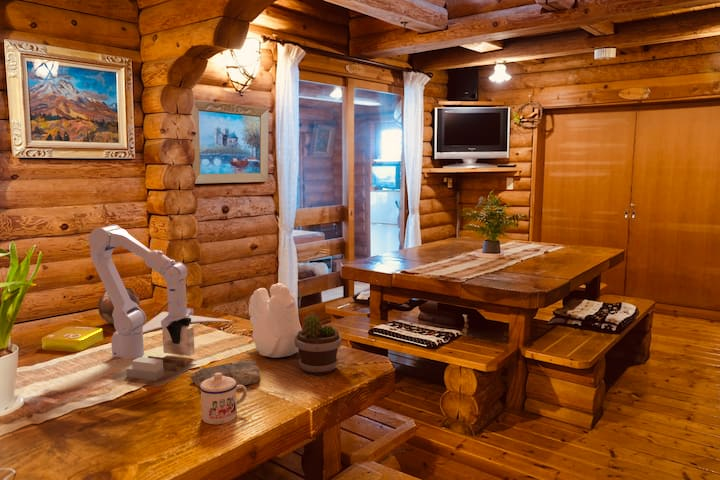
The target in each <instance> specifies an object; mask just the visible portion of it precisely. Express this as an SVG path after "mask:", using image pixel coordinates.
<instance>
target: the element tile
mask: <svg viewBox="0 0 720 480" xmlns="http://www.w3.org/2000/svg"><path fill="white" fill-rule="evenodd" d="M103 340H104V329H103V328H101V327H91V326H90V327H88V326H65V327H63V328H61V329H59V330H56V331H54V332H51V333H50V334H47V335H45V336H43V337H41V348H42V350H45V351H56V352H57V351H58V352H73V353H75V352H76V353H77V352H81V351H83V350H85V349H89V347H92V346H94V345H95V344H98V343H99V342H101V341H103Z"/></svg>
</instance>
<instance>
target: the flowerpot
mask: <svg viewBox="0 0 720 480" xmlns="http://www.w3.org/2000/svg"><path fill="white" fill-rule="evenodd" d="M310 311H311V312H308V313H306V315H305V317H304V318H303V323H302V322H301V323H302V331H299V332H298V335H297V336H296V337H295V341H294V342H295V346H296V347H297V348H298V351H297V352H298V355H299V360H298V362H299V367H300V369H301V370H303V372H305V373H307V374H310V375H313V376H321V375H326V374H327V375H328V374H330V373H332V372H333V371H335V368H336V367H337V365H338V362H339V361H338V356H337V355H338V352H339V351H338V350H339V348H340V347H341V345H342V344H343V338H342V336H341V334H340V333H339V331H338V330H336V329H334V328H335V327H334V325H333V326H332V324H331V325H330V324H326V325H325V324H324V325H323V321H321V317H319V315H317V311H315V312H314V311H313V310H310Z"/></svg>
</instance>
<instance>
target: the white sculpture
mask: <svg viewBox="0 0 720 480" xmlns="http://www.w3.org/2000/svg"><path fill="white" fill-rule="evenodd" d="M269 294H270V296H269ZM248 315H249V316H250V317H249V321H250V323H251V324H250V325H251V326H252V328H253V330H252V338H253V342H254V345H255V348H256V350H257V352H258V354H259V355H261V356H263V357H269V358H284V357H289V356H290V357H291V356H292V355H294V354H295V353H298V352H299V351H298V348H297V347H296V346H295V342H294V341H295V337H296V336H297V335H298V332H299V331H302V330H303V327H302V326H301V324H300V320H299V318H298V312H297V303H296V298H295V296H294V294H292V293H291V290H290V289H289V287H287V285H285V284H284V283H281V282H277V283H275V284H271V286H270V288H269V292H268V290H267V288H265V287H260V288H258V289H255V290H254V291H253V294H251V296H250V298H249V305H248Z"/></svg>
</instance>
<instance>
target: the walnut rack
mask: <svg viewBox="0 0 720 480" xmlns="http://www.w3.org/2000/svg"><path fill="white" fill-rule="evenodd" d="M147 358H153V359H161V360H163V368H164V376H163V377H161V378H159V379H157V380H156V381H154V380H147V379H140V378H133V377H127V372H126V369H125V370H123V371H121V372H119V373H117V374H115V375H113V376H111V377H109V378H108V379H109V380H114V381H119V382H127V383H132V384H133V383H134V384H140V385H149V386H155V387H162V386H164V385H166V384H168V382H170V381H172V380H174V379H176V378H177V377H179V376H180V375H181V374H184V373H185V372H187V371H189V370H190V369H192V368H193V367H195V366H197V363H191V362H185V360H184V359H179V358H177V359H176V358H169V357H160V356H153V355H148V356H147Z"/></svg>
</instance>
